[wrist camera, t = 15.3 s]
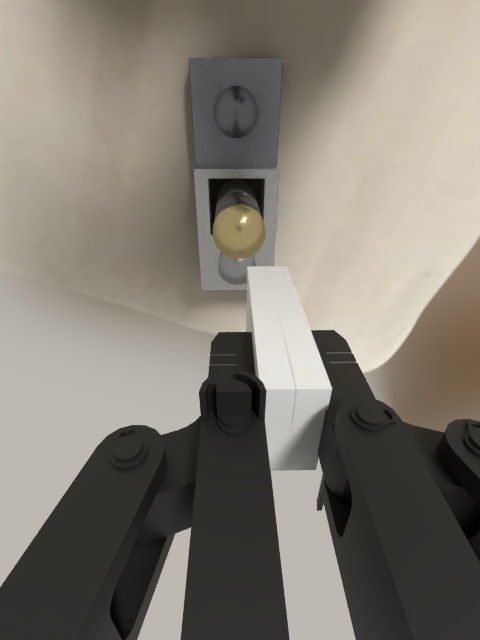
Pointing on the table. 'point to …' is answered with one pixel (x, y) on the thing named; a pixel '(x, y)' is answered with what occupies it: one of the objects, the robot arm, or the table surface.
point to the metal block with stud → (234, 152)
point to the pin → (238, 221)
